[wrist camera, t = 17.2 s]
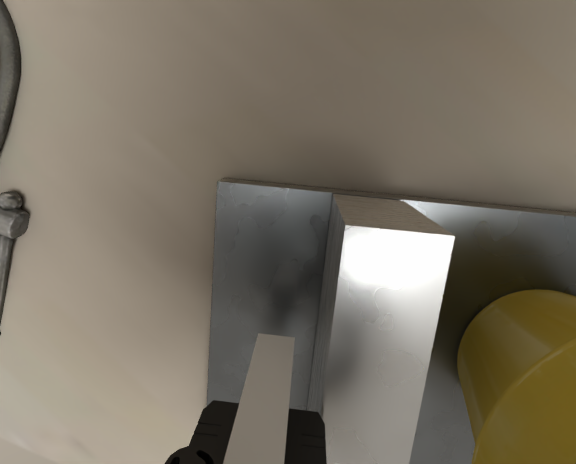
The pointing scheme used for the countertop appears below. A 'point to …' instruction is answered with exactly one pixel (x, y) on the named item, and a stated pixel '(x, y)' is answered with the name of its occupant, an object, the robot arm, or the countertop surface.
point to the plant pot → (522, 379)
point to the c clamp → (3, 87)
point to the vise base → (309, 274)
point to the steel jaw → (376, 327)
